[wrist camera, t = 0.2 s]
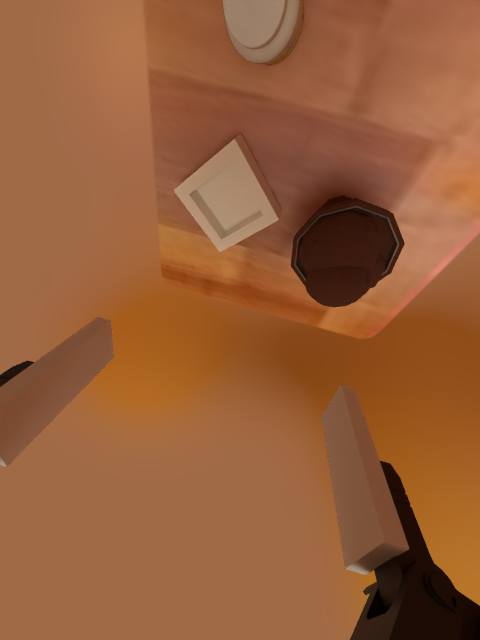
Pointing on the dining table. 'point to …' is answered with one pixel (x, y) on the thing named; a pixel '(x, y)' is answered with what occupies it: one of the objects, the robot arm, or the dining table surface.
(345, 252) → the ice cream bowl
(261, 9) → the supplement bottle
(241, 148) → the holder
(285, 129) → the dining table surface
